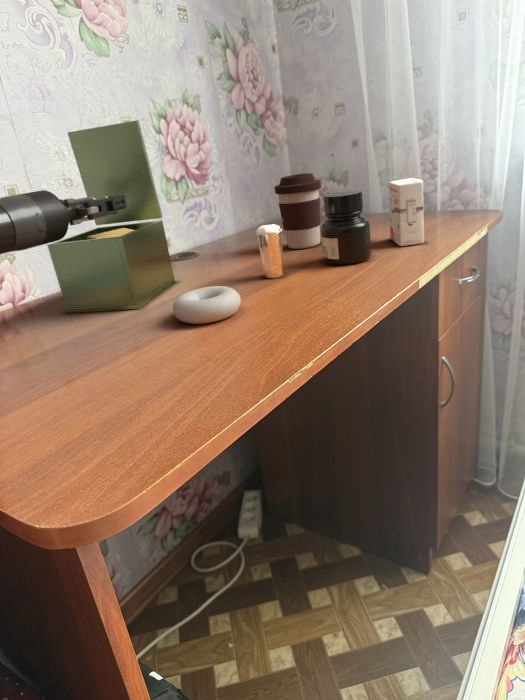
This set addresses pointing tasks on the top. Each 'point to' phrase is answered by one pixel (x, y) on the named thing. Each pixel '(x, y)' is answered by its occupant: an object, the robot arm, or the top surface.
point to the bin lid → (117, 169)
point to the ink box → (406, 211)
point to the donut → (206, 304)
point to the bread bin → (113, 268)
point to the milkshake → (271, 249)
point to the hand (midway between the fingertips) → (107, 202)
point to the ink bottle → (345, 229)
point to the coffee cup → (300, 209)
